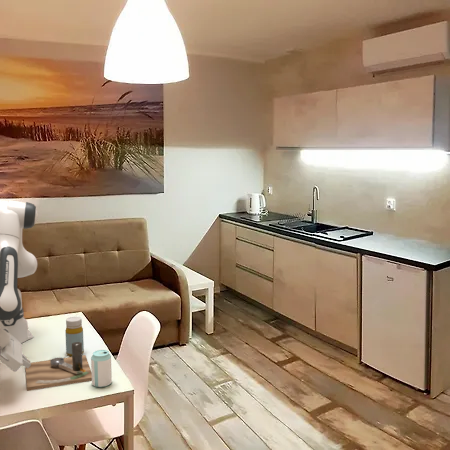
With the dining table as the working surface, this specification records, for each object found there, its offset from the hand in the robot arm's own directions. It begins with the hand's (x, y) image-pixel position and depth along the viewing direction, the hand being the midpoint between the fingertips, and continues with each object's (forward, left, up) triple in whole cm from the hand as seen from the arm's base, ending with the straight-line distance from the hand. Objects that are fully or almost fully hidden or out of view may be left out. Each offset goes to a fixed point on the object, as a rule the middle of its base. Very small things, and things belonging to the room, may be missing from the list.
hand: (29, 365), depth 186 cm
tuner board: (-7, +10, -8) cm, 15 cm away
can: (+8, +24, -8) cm, 27 cm away
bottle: (-24, +18, -8) cm, 31 cm away
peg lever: (-6, +14, -6) cm, 16 cm away
